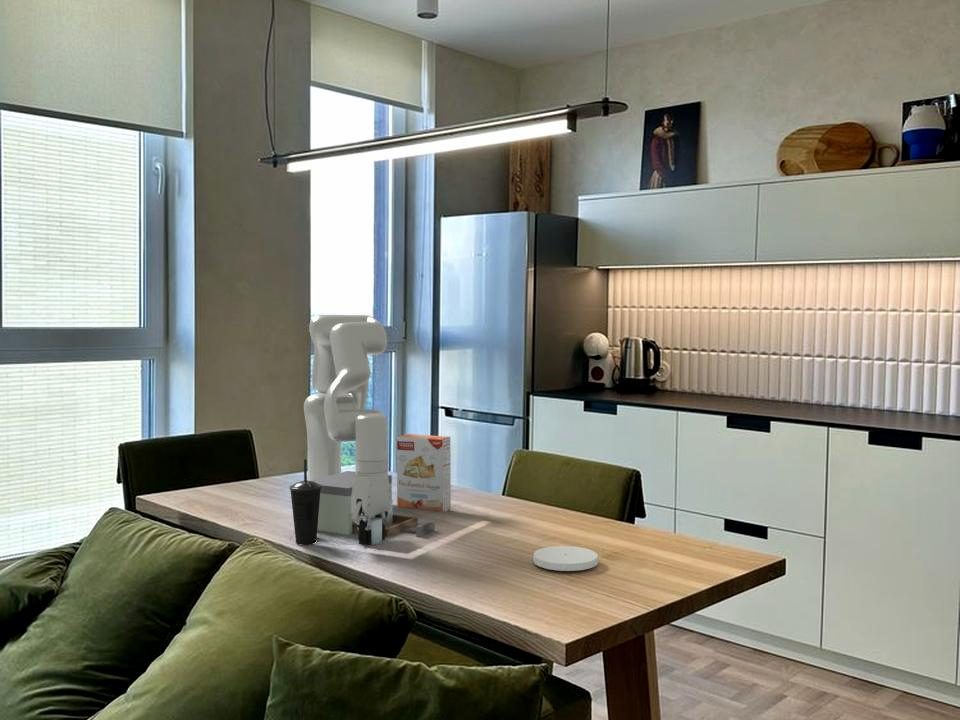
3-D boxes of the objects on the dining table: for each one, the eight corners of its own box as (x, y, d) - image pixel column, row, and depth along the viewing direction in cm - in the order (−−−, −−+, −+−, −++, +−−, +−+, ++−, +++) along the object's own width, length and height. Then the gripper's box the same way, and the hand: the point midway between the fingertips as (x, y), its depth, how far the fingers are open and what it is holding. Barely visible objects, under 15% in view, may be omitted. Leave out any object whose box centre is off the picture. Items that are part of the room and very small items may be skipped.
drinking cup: (328, 539, 217) (327, 457, 216) (312, 547, 210) (311, 463, 209) (300, 537, 220) (299, 456, 219) (283, 545, 213) (282, 461, 212)
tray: (378, 522, 234) (378, 510, 234) (441, 530, 225) (441, 518, 225) (346, 534, 221) (346, 521, 221) (412, 543, 212) (411, 530, 212)
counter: (348, 517, 241) (347, 470, 241) (428, 527, 230) (427, 479, 229) (302, 532, 224) (302, 483, 224) (386, 544, 213) (386, 492, 212)
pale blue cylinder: (369, 540, 215) (369, 515, 214) (386, 543, 212) (386, 518, 212) (357, 545, 210) (357, 520, 210) (374, 548, 208) (374, 522, 208)
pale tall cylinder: (380, 521, 232) (380, 498, 231) (396, 523, 229) (396, 500, 229) (370, 525, 227) (369, 501, 227) (385, 527, 225) (385, 503, 225)
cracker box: (396, 510, 249) (395, 435, 248) (406, 506, 254) (405, 433, 253) (442, 515, 243) (442, 438, 242) (451, 510, 249) (451, 435, 248)
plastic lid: (550, 554, 206) (550, 543, 205) (607, 562, 199) (607, 551, 198) (522, 569, 194) (522, 558, 193) (582, 579, 186) (582, 567, 186)
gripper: (378, 459, 219) (379, 533, 221) (336, 471, 204) (337, 550, 206) (404, 462, 216) (404, 536, 217) (363, 474, 201) (364, 554, 202)
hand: (371, 542), depth 211 cm, fingers closed on pale blue cylinder, 4 cm apart
